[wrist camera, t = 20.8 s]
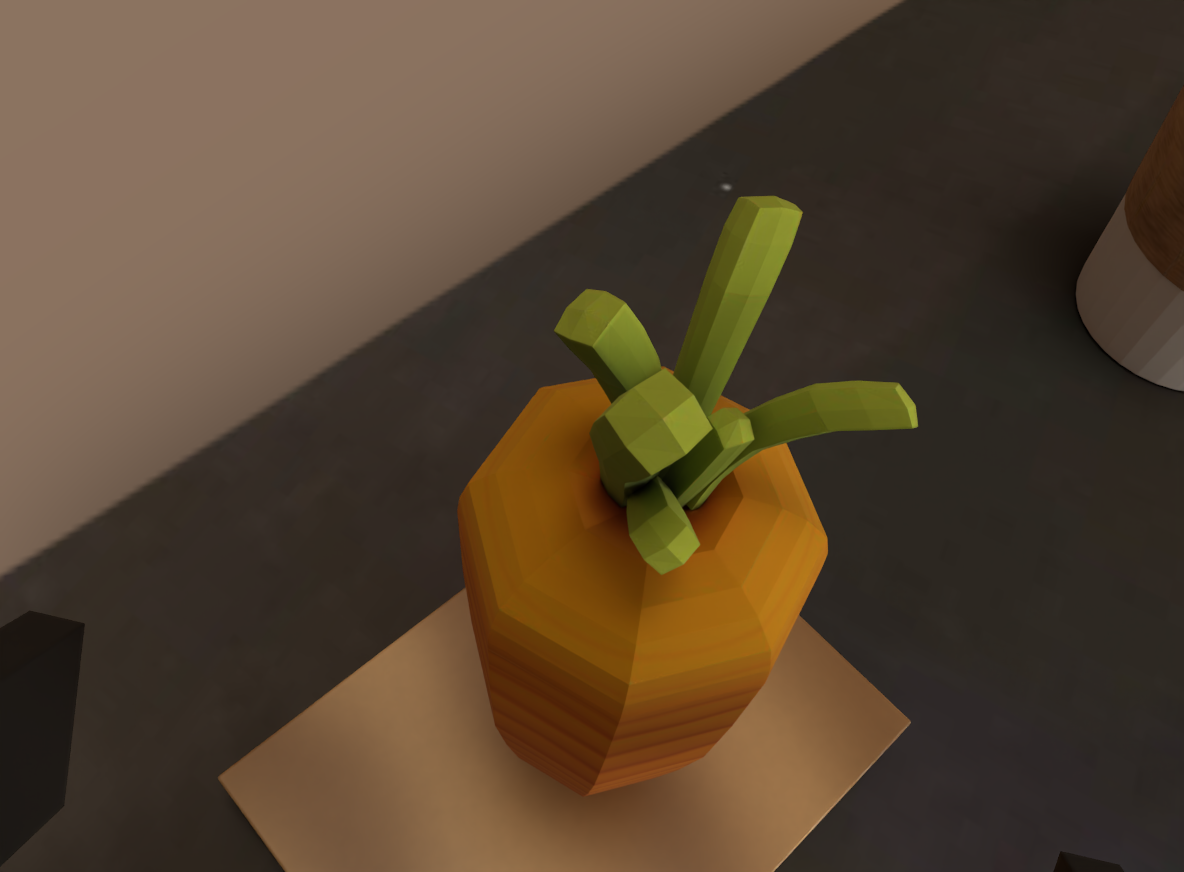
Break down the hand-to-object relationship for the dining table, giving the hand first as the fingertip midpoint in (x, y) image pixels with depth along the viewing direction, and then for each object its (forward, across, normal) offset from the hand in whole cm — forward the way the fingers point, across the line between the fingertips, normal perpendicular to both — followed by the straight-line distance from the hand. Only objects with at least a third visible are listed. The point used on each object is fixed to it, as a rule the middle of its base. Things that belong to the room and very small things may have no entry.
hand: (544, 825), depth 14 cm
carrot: (+8, 0, -3) cm, 9 cm away
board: (+9, 0, -4) cm, 10 cm away
